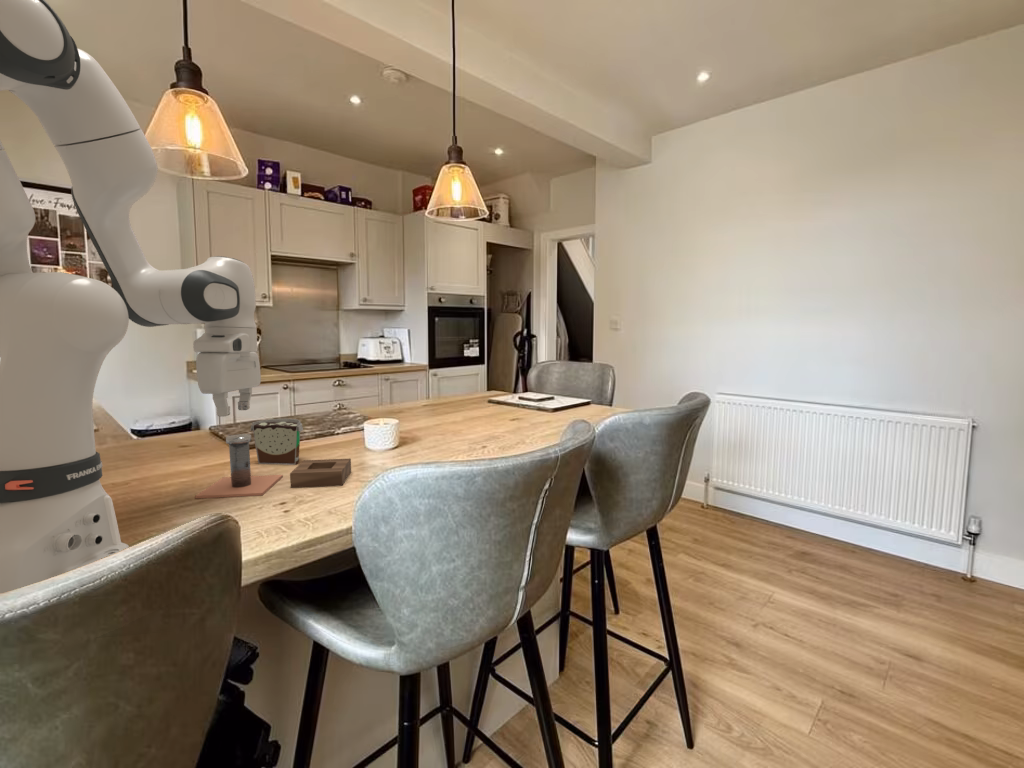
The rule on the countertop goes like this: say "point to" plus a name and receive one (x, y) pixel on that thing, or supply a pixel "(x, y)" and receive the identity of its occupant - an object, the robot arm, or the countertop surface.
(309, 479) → the brown square peg hole
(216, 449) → the countertop surface
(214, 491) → the rubber mat
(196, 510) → the countertop surface
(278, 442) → the food container
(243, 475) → the metal peg
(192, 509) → the countertop surface
